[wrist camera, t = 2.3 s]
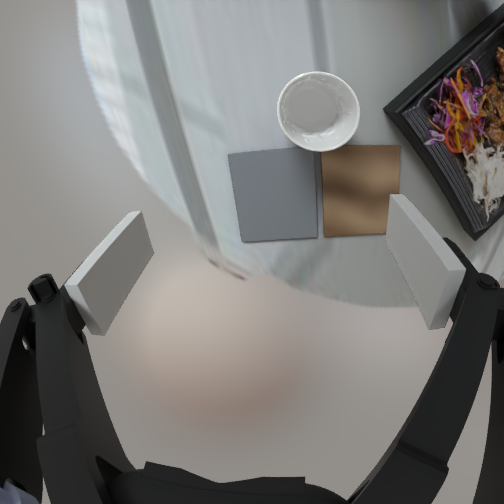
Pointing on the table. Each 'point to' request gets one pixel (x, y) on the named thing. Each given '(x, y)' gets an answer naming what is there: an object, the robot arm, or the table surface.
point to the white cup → (318, 111)
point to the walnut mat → (358, 188)
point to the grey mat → (274, 193)
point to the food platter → (462, 123)
